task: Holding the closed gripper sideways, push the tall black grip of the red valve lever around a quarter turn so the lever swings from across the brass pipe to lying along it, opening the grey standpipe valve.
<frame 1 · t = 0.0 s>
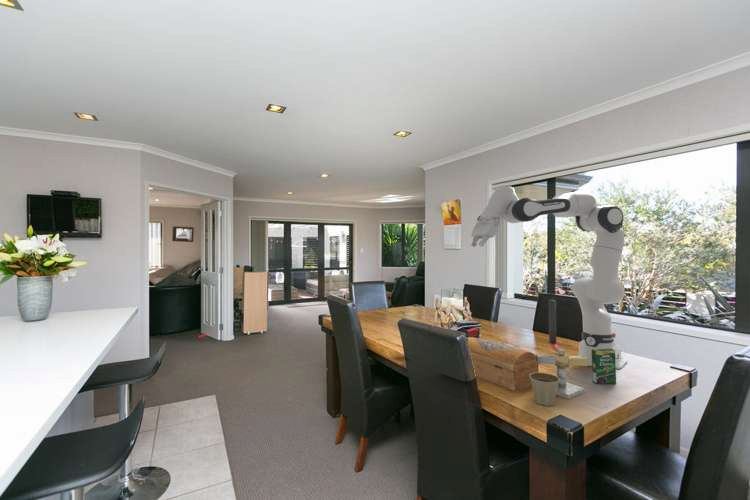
hand: (476, 246, 157), 54 cm above the table, tool tilted 30°, fingers open, 8 cm apart
coffee box: (604, 383, 137), on the table
standpipe valve: (561, 390, 130), on the table
wooden box: (495, 377, 145), on the table
flower pot: (544, 403, 120), on the table
valve lever: (556, 326, 136), point 23 cm above the table, hinge at 45.0°
beer glass: (426, 355, 177), on the table
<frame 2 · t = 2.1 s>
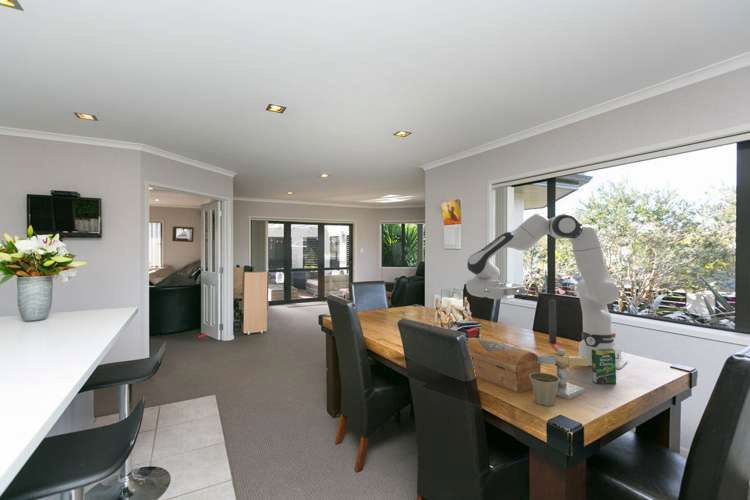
hand: (522, 292, 152), 34 cm above the table, tool horizontal, fingers open, 5 cm apart
nothing on the table moved.
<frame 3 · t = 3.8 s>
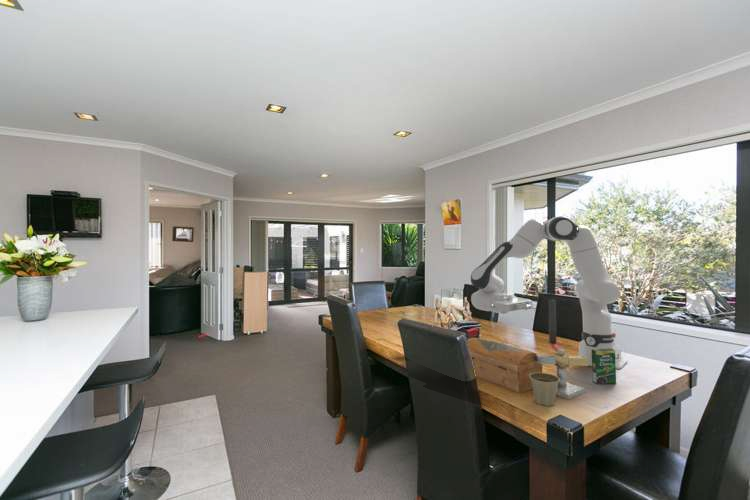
hand: (529, 307, 150), 28 cm above the table, tool horizontal, fingers closed
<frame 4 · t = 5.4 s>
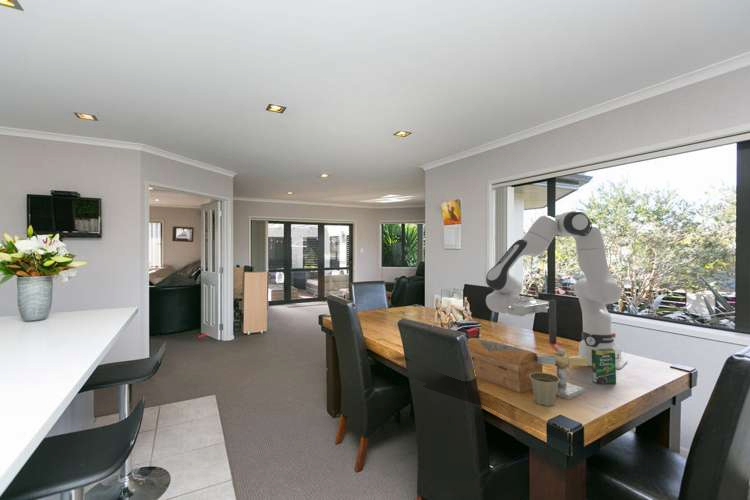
hand: (549, 309, 142), 28 cm above the table, tool horizontal, fingers closed, pressing on valve lever
valve lever: (556, 326, 136), point 23 cm above the table, hinge at 45.0°, touching gripper
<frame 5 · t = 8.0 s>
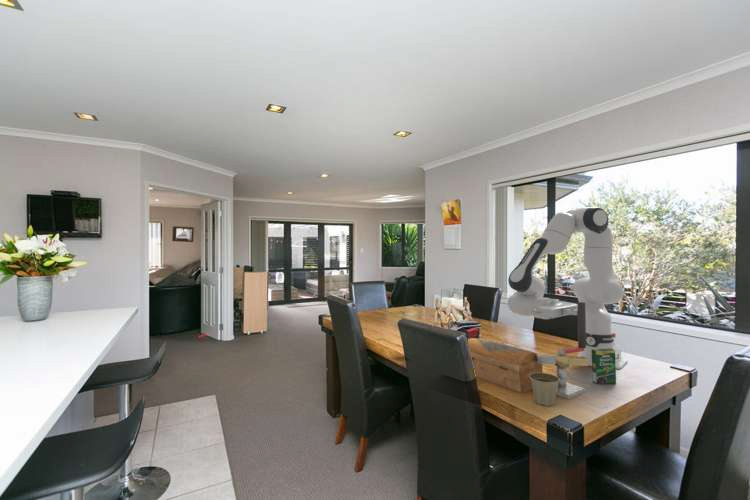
hand: (578, 312, 136), 28 cm above the table, tool horizontal, fingers closed, pressing on valve lever
valve lever: (571, 328, 132), point 23 cm above the table, hinge at -10.8°, touching gripper
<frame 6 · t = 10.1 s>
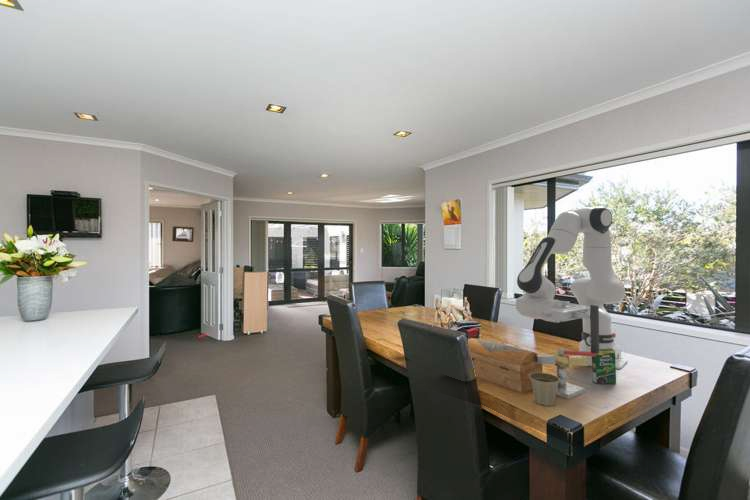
hand: (591, 316, 128), 28 cm above the table, tool horizontal, fingers closed, pressing on valve lever
wooden box: (498, 378, 144), on the table, touching standpipe valve
valve lever: (577, 330, 129), point 23 cm above the table, hinge at -50.1°, touching gripper
everything else where it was.
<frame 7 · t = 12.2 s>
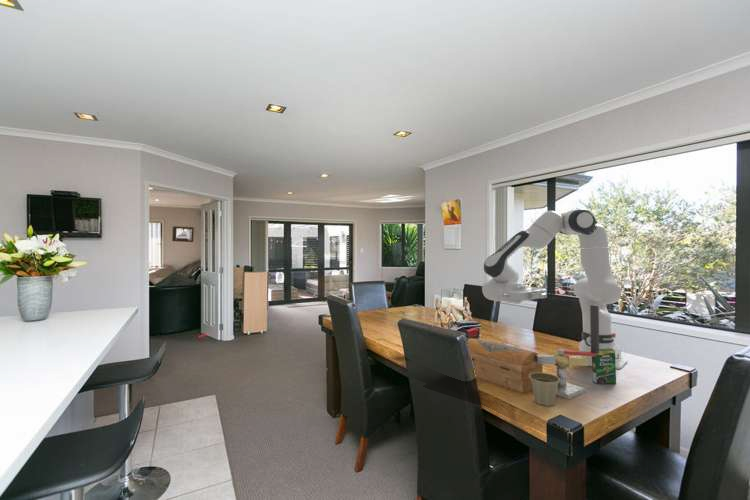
hand: (544, 296, 144), 33 cm above the table, tool horizontal, fingers closed
wooden box: (498, 379, 144), on the table
valve lever: (577, 330, 129), point 23 cm above the table, hinge at -50.1°
everything else where it was.
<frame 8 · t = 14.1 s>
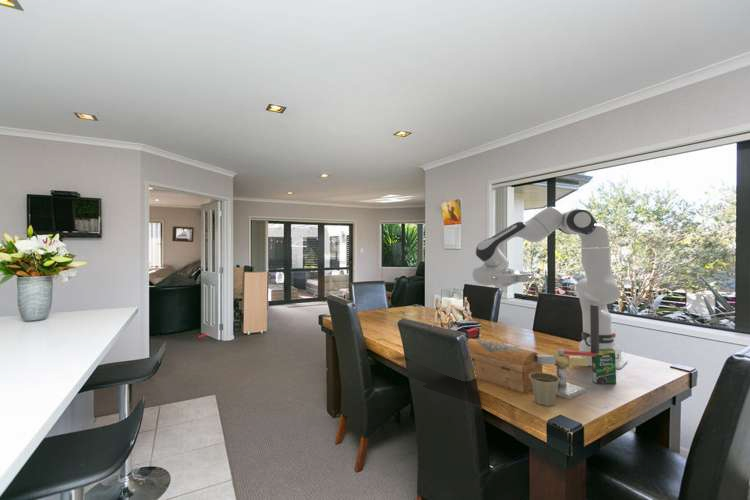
hand: (530, 278, 149), 40 cm above the table, tool horizontal, fingers closed
nothing on the table moved.
at the end: valve lever at -50° (first picture: +45°); wooden box moved 1.9 cm from its start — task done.
